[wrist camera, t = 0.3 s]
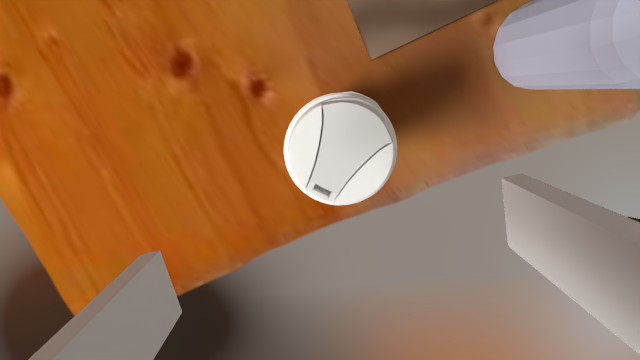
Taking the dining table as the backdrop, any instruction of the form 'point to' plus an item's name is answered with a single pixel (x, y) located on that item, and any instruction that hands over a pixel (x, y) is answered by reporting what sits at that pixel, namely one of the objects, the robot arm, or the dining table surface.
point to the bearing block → (405, 20)
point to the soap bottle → (571, 45)
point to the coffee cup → (340, 148)
